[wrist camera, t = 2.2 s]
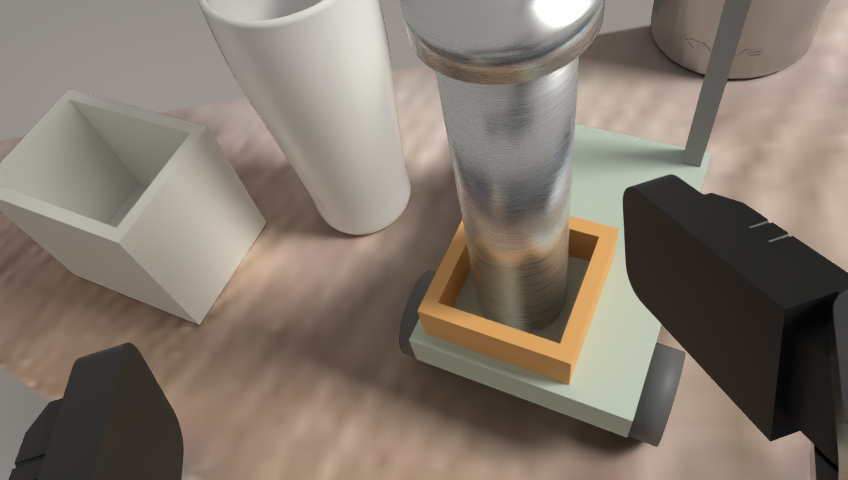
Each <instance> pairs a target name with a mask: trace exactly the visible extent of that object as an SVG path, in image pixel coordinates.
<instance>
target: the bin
mask: <svg viewBox="0 0 848 480" xmlns="http://www.w3.org/2000/svg"><path fill="white" fill-rule="evenodd" d="M0 212H1V213H3V214H4V215H5V216H6V217H7V218H9V219H10V220H11V221H12V222H13V223H14V224H16V225H17V226H18V227H19V228H20V229H21V230H23V231H24V232H25V233H26V234H27V235H28V236H30V237H31V238H32V239H33V240H34V241H36V242H37V243H38V244H39V245H40V246H41V247H43V248H44V249H45V250H46V251H47V252H48V253H50V254H51V255H52V256H53V257H54V258H56V259H57V260H58V261H59V262H60V263H61V264H63V265H64V266H65V267H66V268H67V269H68V270H70V271H71V272H72V273H73V274H74V275H76V276H79V277H81V278H84V279H86V280H89V281H91V282H94V283H96V284H99V285H101V286H104V287H106V288H108V289H111V290H113V291H116V292H118V293H121V294H123V295H126V296H128V297H131V298H133V299H136V300H138V301H141V302H143V303H146V304H148V305H151V306H153V307H156V308H158V309H161V310H163V311H166V312H168V313H170V314H173V315H175V316H178V317H180V318H183V319H185V320H188V321H190V322H193V323H195V324H198V325H200V324H201V322H202V321H203V319H204V318H205V316H206V315H207V313H208V312H209V310H210V309H211V307H212V305H213V304H214V302H215V301H216V299H217V298H218V296H219V295H220V293H221V292H222V290H223V289H224V287H225V286H226V284H227V283H228V281H229V280H230V278H231V277H232V275H233V273H234V272H235V270H236V269H237V267H238V266H239V264H240V263H241V261H242V260H243V258H244V257H245V255H246V254H247V252H248V251H249V249H250V248H251V246H252V244H253V243H254V241H255V240H256V238H257V237H258V235H259V234H260V232H261V231H262V229H263V228H264V226H265V225H266V223H267V222H266V221H265V219H264V218H263V216H262V214H261V213H260V211H259V209H258V208H257V206H256V204H255V203H254V201H253V200H252V198H251V196H250V195H249V193H248V191H247V190H246V188H245V187H244V185H243V183H242V182H241V180H240V178H239V177H238V175H237V173H236V172H235V170H234V169H233V167H232V165H231V164H230V162H229V160H228V159H227V157H226V156H225V154H224V152H223V151H222V149H221V147H220V146H219V144H218V143H217V141H216V139H215V138H214V136H213V134H212V133H211V131H210V129H209V128H208V127H207V126H204V125H200V124H196V123H193V122H189V121H185V120H182V119H178V118H174V117H171V116H167V115H163V114H160V113H156V112H152V111H148V110H145V109H141V108H138V107H134V106H130V105H127V104H123V103H119V102H115V101H112V100H108V99H105V98H101V97H97V96H94V95H90V94H86V93H83V92H79V91H75V90H72V89H68V91H67V92H66V93H65V94H64V95H63V96H62V97H61V98H60V99H59V100H58V101H57V102H56V103H55V105H54V106H53V107H52V108H51V109H50V110H49V111H48V112H47V113H46V114H45V115H44V116H43V117H42V118H41V120H40V121H39V122H38V123H37V124H36V125H35V126H34V127H33V128H32V129H31V130H30V131H29V133H28V134H27V135H26V136H25V137H24V138H23V139H22V140H21V141H20V142H19V143H18V144H17V145H16V146H15V148H14V149H13V150H12V151H11V152H10V153H9V154H8V155H7V156H6V157H5V158H4V159H3V160H2V161H1V163H0Z"/></svg>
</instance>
